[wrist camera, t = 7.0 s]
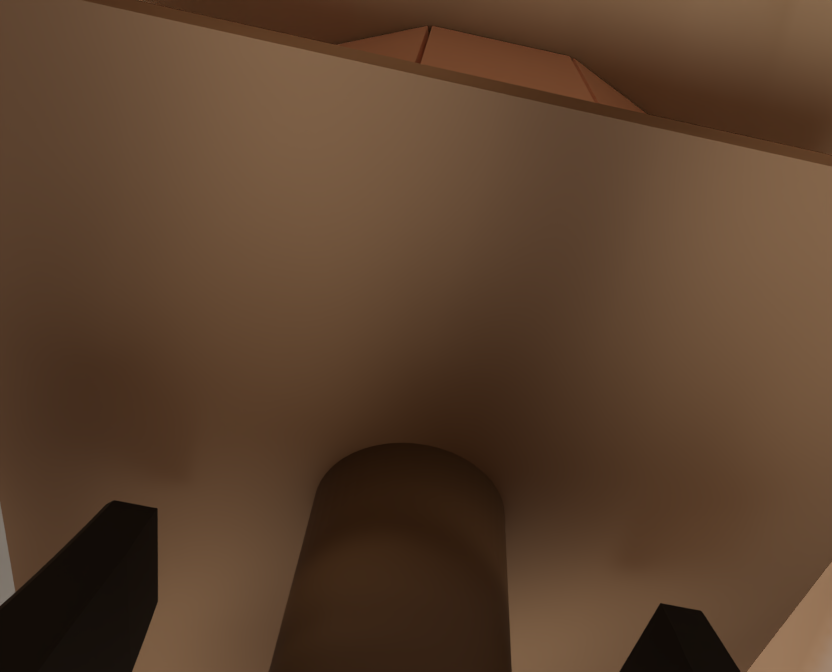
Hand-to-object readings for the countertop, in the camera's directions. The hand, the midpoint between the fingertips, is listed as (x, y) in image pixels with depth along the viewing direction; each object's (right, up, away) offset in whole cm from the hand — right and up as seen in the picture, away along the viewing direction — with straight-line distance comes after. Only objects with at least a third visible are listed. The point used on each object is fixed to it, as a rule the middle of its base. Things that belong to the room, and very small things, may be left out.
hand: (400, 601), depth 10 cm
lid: (0, +1, +2) cm, 2 cm away
